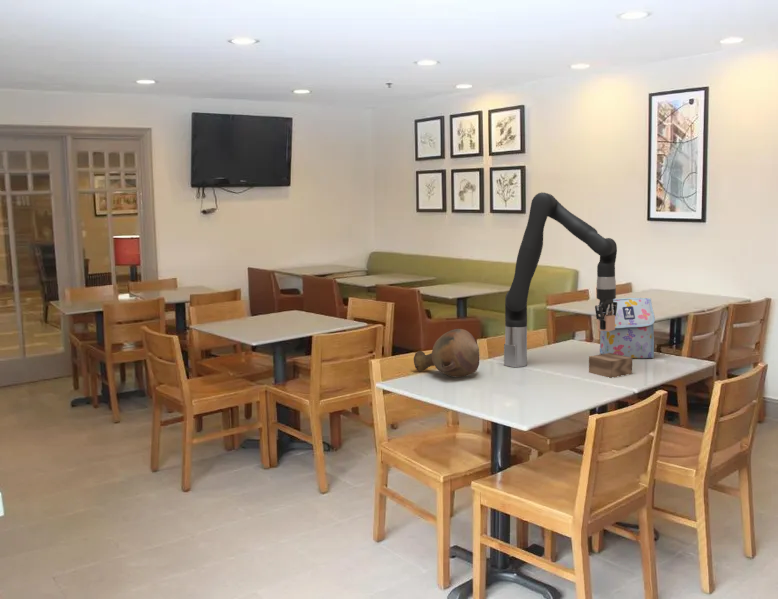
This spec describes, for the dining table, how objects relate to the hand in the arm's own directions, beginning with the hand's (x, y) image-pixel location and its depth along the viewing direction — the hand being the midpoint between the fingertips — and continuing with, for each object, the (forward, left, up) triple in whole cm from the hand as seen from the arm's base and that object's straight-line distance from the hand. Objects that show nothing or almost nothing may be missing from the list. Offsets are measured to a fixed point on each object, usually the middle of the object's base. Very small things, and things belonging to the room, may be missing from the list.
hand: (606, 328), depth 317 cm
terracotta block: (0, 0, -1) cm, 1 cm away
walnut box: (-2, -3, -18) cm, 19 cm away
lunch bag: (+31, +9, -18) cm, 38 cm away
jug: (-48, +45, -18) cm, 68 cm away
